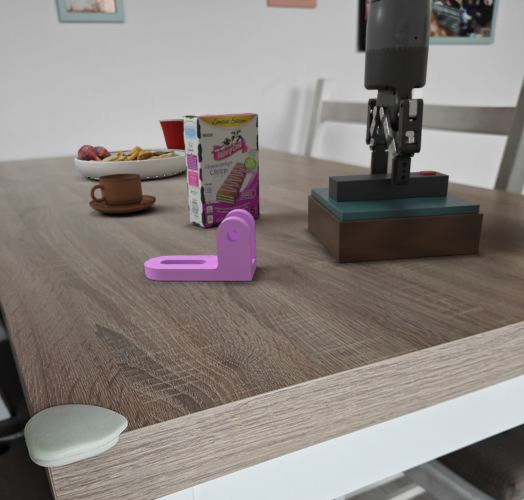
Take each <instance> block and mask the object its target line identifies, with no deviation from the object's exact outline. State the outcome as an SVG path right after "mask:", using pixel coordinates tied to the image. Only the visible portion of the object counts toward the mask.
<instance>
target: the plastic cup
mask: <svg viewBox="0 0 524 500" xmlns="http://www.w3.org/2000/svg"><path fill="white" fill-rule="evenodd" d="M157 121H158V122H159V124H160V127H161V130H162V133H163V134H162V135H163V139H164V142H165V146H166V149H174V150H185V146H184V131H183V118H170V119H158V120H157Z"/></svg>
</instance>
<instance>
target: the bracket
mask: <svg viewBox="0 0 524 500" xmlns="http://www.w3.org/2000/svg"><path fill="white" fill-rule="evenodd" d="M215 231H216V232H215V241H216V242H215V243H216V255H209V254H208V255H207V254H206V255H205V254H204V255H201V254H200V255H163V256H156V257H153V258H150V259H147V260H146V261H144V264H143V266H144V272H145V273H144V274H145V277H146V278H147V279H149V280H152V281H161V282H162V281H163V282H164V281H165V282H167V281H168V282H172V281H173V282H175V281H176V282H252V280H253V278H254V275H255V272H256V269H257V265H258V264H257V261H258V260H257V239H256V238H257V237H256V221H255V219H254V218H253V216H252V215H251V214H250V213H249V212H248V211H246V210H243V209H235V210H232V211H231V212H229V213H228V214H227V216H226V217H225V219H224V220H223V221H222V222H221V224H220V225H218V227H217V229H216V230H215Z"/></svg>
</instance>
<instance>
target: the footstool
mask: <svg viewBox="0 0 524 500" xmlns="http://www.w3.org/2000/svg"><path fill="white" fill-rule="evenodd" d="M310 192H311V193H310V194H308V195H307V229H308V230H309V231H310V232H311V233H312V234H313V236H314V237H315V238H316V239H317V240H318V241H319V242H320V244H321V245H322V246H323V247H324V248H325V249H326V251H327V252H328V253H329V254H330V255H331V256H332V257H333V258H334V259H335V261H336V262H337V263H338V264H339V263H354V262H370V261H384V260H399V259H400V260H401V259H415V258H429V257H430V258H431V257H443V256H445V257H446V256H460V255H473V254H475V255H476V254H479V250H480V249H479V247H480V241H481V235H482V226H483V221H484V220H483V219H484V213H483V212H481V211H480V208H481V205H480V204H478V203H476V202H475V201H474V202H473V201H471V200H468V199H466V198H463V197H462V196H461V197H460V196H458V195H455V194H453V193H450V192H448V191H447V196H433V197H416V198H398V199H380V200H362V201H345V202H336V201H335V200H334V199H332V198H331V197H330V196H329V187H318V188H311V189H310Z"/></svg>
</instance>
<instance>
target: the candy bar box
mask: <svg viewBox="0 0 524 500" xmlns="http://www.w3.org/2000/svg"><path fill="white" fill-rule="evenodd" d="M182 119H183V131H184V146H185V159H186V170H185V171H186V187H187V199H188V201H187V202H188V212H189V213H188V214H189V223H190V224H192V225H194V226H198V227H200V228H204V229H205V228H210V227H217V226H219V225H220V224H221V222H222V221H223V220H224V219H225V217H226V216H227V214H228V213H229V212H231V211H232V210H235V209H243V210H246V211H248V212H249V213H250V214H251V215H252V216H253V218H254V220H255V219H260V217H261V213H260V211H261V210H260V164H259V161H260V159H259V157H260V155H259V114H258V113H255V112H228V113H205V114H188V115H187V114H185V115H182Z"/></svg>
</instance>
